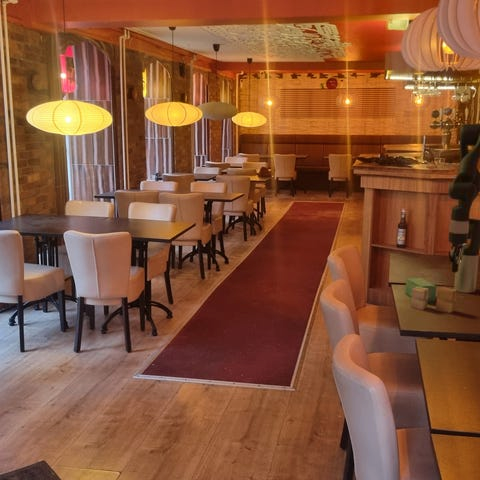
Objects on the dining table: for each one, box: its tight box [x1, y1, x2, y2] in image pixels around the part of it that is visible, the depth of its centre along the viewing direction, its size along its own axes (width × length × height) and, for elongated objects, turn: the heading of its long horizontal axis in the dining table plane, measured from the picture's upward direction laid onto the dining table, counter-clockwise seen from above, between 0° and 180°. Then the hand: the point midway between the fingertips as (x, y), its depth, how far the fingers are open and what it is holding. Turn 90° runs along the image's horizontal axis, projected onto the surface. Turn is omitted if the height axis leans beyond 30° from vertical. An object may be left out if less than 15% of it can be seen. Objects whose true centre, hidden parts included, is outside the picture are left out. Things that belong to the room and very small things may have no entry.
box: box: [404, 277, 437, 303], centre depth 266 cm, size 7×14×8 cm, turn 14°
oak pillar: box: [435, 286, 457, 314], centre depth 249 cm, size 4×6×9 cm
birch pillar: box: [410, 287, 429, 311], centre depth 253 cm, size 5×5×8 cm
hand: (454, 271), depth 253 cm, fingers closed
